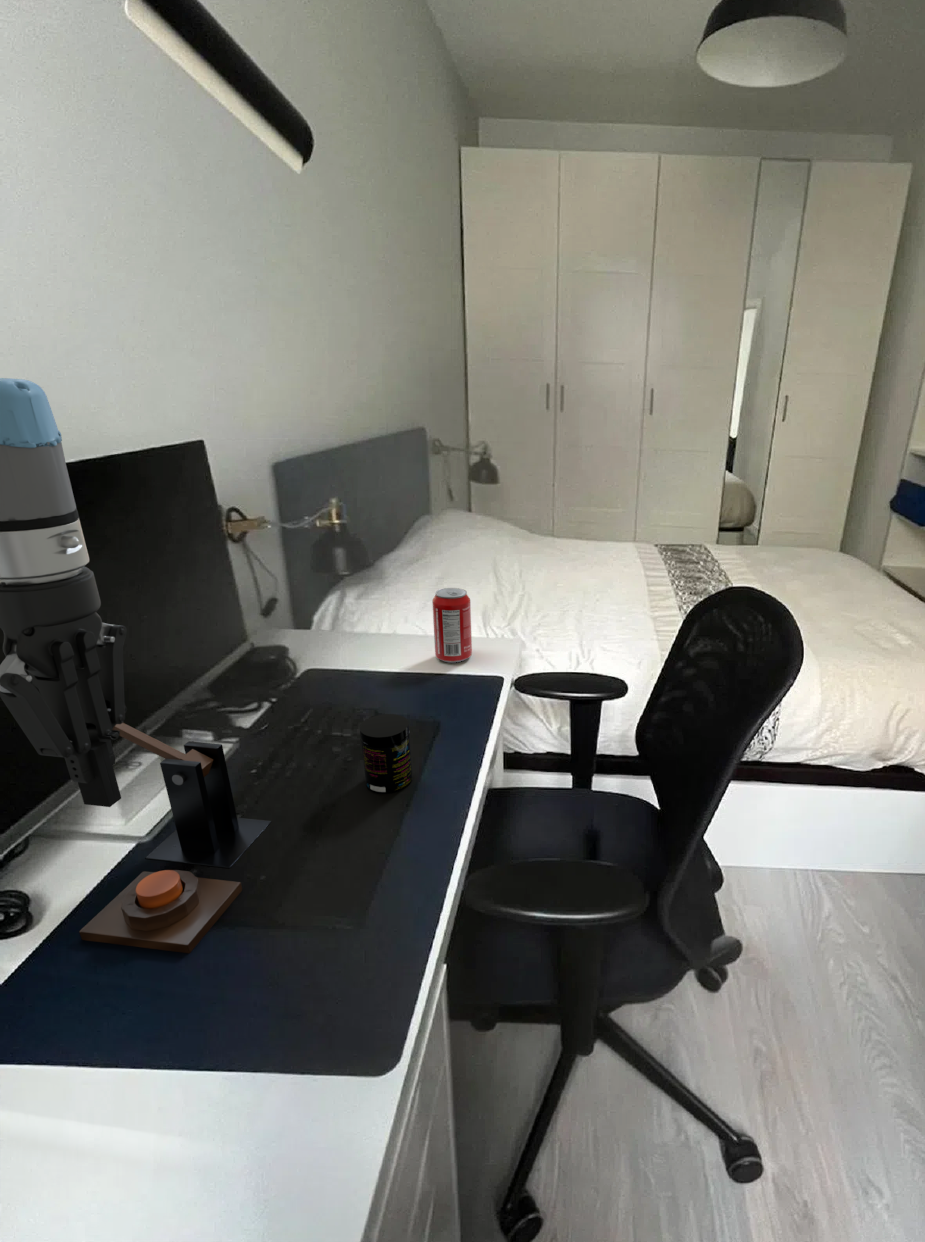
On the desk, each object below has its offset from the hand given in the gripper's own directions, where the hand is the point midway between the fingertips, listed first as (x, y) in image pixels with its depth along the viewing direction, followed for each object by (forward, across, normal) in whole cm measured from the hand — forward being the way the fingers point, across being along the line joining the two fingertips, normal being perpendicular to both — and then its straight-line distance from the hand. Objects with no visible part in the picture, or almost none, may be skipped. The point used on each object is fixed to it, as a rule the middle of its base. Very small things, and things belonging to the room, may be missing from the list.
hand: (103, 801), depth 64 cm
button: (+13, +1, -3) cm, 13 cm away
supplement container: (+16, +29, -17) cm, 37 cm away
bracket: (+16, +13, 0) cm, 21 cm away
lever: (+3, +13, +6) cm, 15 cm away
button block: (+16, +1, -3) cm, 17 cm away
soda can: (+16, +77, -12) cm, 80 cm away
